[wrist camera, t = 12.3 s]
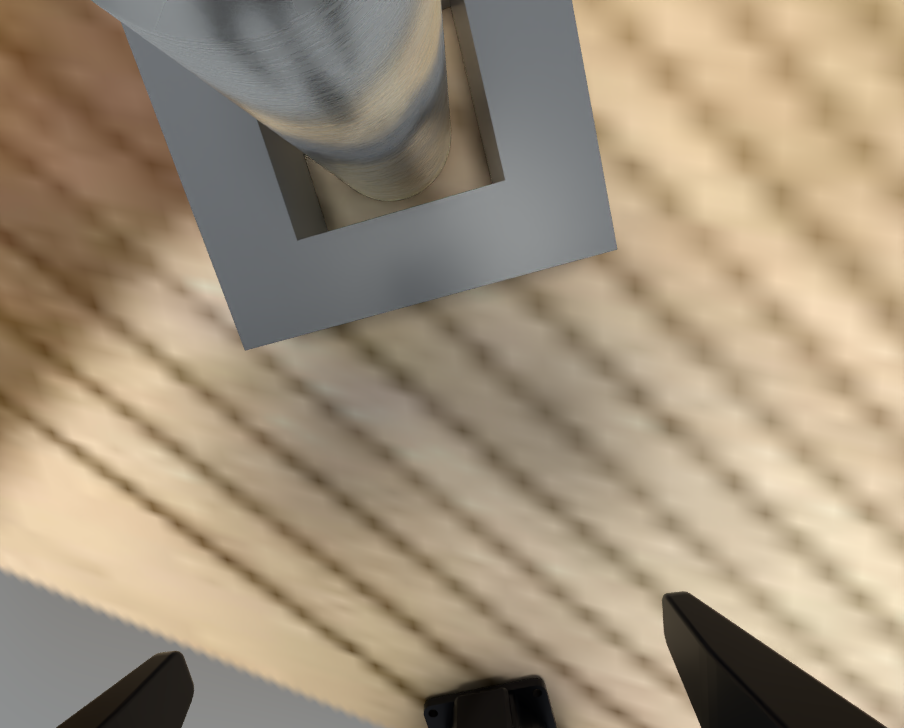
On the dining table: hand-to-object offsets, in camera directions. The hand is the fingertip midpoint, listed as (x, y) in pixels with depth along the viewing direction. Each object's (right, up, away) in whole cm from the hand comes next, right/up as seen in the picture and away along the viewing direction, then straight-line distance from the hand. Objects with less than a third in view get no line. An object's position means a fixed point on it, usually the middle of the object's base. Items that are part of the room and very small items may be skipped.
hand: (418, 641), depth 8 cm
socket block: (-2, +14, +9) cm, 17 cm away
